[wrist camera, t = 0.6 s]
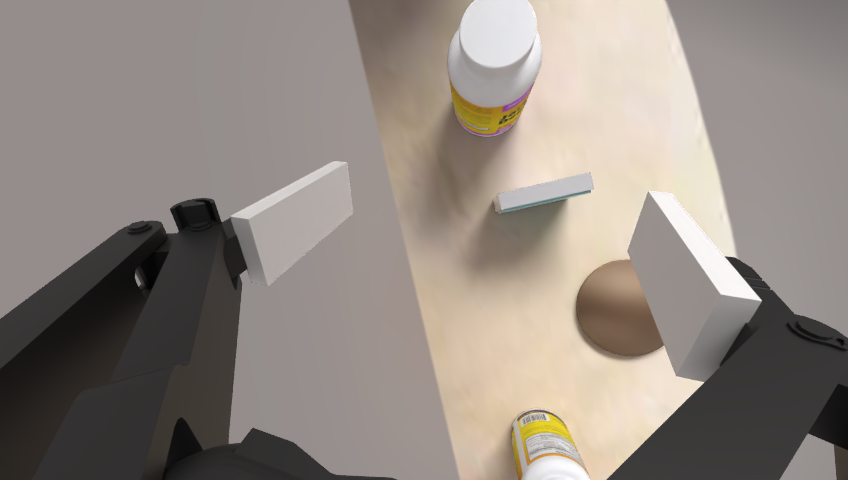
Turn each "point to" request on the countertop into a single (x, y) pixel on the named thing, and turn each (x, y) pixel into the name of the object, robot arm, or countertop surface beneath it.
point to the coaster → (617, 311)
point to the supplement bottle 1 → (493, 64)
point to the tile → (543, 193)
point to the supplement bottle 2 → (545, 448)
